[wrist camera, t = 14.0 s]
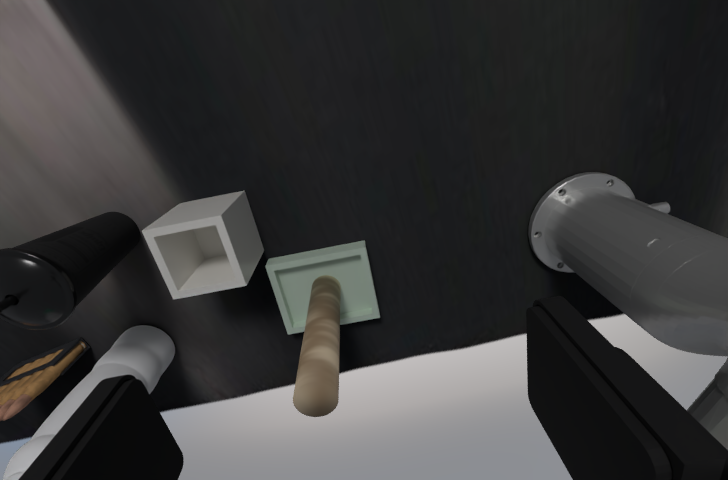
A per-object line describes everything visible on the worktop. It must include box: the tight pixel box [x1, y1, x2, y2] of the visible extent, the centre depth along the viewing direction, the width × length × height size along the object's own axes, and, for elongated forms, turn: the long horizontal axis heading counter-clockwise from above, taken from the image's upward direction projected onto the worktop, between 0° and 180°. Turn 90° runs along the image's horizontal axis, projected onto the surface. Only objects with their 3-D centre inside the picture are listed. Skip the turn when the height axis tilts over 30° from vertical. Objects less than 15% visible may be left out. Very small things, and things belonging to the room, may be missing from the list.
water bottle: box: [3, 325, 175, 480], centre depth 38 cm, size 7×7×25 cm
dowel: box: [293, 275, 341, 417], centre depth 38 cm, size 4×4×18 cm
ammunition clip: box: [0, 337, 90, 421], centre depth 44 cm, size 11×2×12 cm, turn 113°
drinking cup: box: [0, 212, 140, 330], centre depth 34 cm, size 8×8×20 cm
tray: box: [265, 241, 380, 334], centre depth 46 cm, size 12×10×2 cm
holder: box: [142, 191, 264, 300], centre depth 39 cm, size 8×8×8 cm
